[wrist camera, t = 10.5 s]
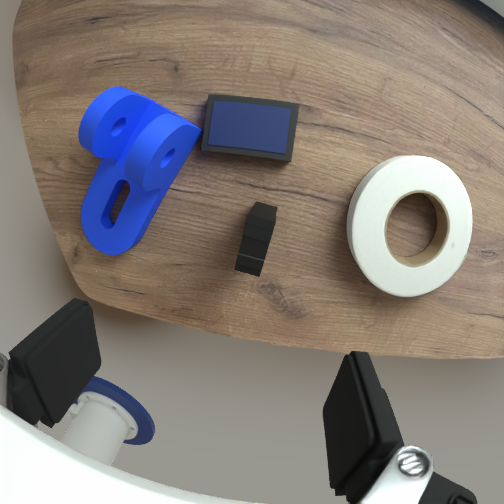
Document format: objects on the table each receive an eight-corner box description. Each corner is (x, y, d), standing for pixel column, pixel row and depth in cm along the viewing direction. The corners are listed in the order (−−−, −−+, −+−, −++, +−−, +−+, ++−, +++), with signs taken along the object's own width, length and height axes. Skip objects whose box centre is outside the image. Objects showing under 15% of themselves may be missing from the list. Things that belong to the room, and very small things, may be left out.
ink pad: (204, 151, 29) (200, 150, 27) (211, 96, 27) (208, 93, 25) (290, 162, 28) (291, 162, 27) (298, 106, 26) (299, 103, 25)
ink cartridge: (265, 250, 31) (260, 279, 24) (244, 244, 31) (233, 272, 24) (277, 206, 30) (277, 222, 22) (256, 200, 30) (248, 214, 22)
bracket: (146, 96, 27) (103, 80, 19) (204, 130, 28) (175, 119, 19) (82, 225, 32) (36, 245, 24) (129, 262, 33) (89, 292, 25)
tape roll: (333, 280, 32) (338, 291, 29) (356, 142, 27) (364, 140, 24) (442, 291, 31) (453, 301, 28) (469, 173, 26) (483, 175, 23)
